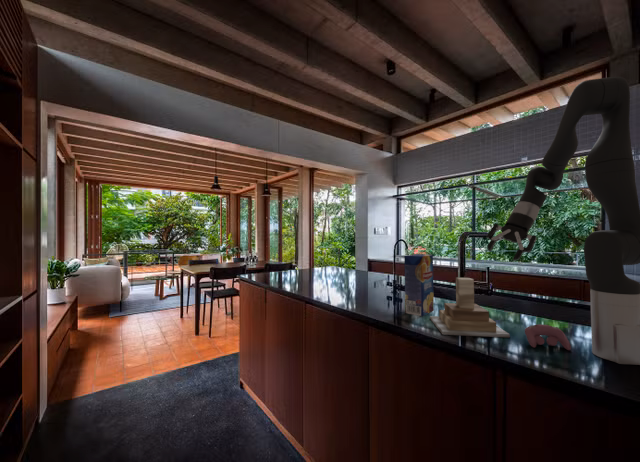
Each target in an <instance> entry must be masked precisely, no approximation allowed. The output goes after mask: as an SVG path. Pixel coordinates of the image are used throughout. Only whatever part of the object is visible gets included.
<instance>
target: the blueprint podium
mask: <svg viewBox="0 0 640 462" xmlns="http://www.w3.org/2000/svg"><path fill="white" fill-rule="evenodd" d="M443 306H444V309H438V310H439V313H438V316H435V315H434V316H433V315H430V316H429V319H430V320H431V322H432V323H433V324H434V325H435V327H436V328H437V329H438V331H439V332H440V333H441V334H442V335H445V336H447V335H450V336H469V337H470V336H471V337H491V338H492V337H493V338H510V336H511V334H510V333H509V332H507V331H505V330H503V328H501V327H499V326H498V325H497V322H496V321H494V320H493V319H492V318H490V311H488V309H486V308H484V307H482V306H481V305H478V304H477V303H474V309H466V308H459V307H458V306H457V305H456V303H455V302H453V303H451V302H444V303H443Z"/></svg>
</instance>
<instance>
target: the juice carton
mask: <svg viewBox="0 0 640 462" xmlns="http://www.w3.org/2000/svg"><path fill="white" fill-rule="evenodd" d="M403 260H404V266H403V267H404V313H405V314H409V315H413V316H418V317H424V316H426V315H429V314H430V313H432V312H434V310H435V309H434V308H435V306H434V304H435V301H434V297H435V296H434V255H433V254H419V253H418V254H416V253H414V254H406V255H404V259H403Z"/></svg>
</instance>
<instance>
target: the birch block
mask: <svg viewBox="0 0 640 462" xmlns="http://www.w3.org/2000/svg"><path fill="white" fill-rule="evenodd" d="M474 280H475V279H474V278H470V277H455V299H456V300H455V301H456V305H457V306H458V307H459V308H466V309H474V304H475V281H474Z"/></svg>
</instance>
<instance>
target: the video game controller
mask: <svg viewBox="0 0 640 462" xmlns="http://www.w3.org/2000/svg"><path fill="white" fill-rule="evenodd" d="M524 334H525V336H526V340H527V342H528V344H529V345H530V346H531V347H532V348H534V349H535V348H536V347H537V345H539V346H541V345H544V343H545V339H544V337H543V336H547V338H546V343H547V345H549V346H550V347H555V346H556V345H558V342H559V343H560V344H561V345H562V347H563V349H566V350H567V351H570V350H571V349H572V348H571V347H572V345H571V343H570V340H569V339H568V337H567V335H565V333H564V331H562V330H561V329H560V328H559V327H557V326H552V325H549V324H538V323H537V324H533V325H532V324H531V325H529V326H526V327H525V329H524Z"/></svg>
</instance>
